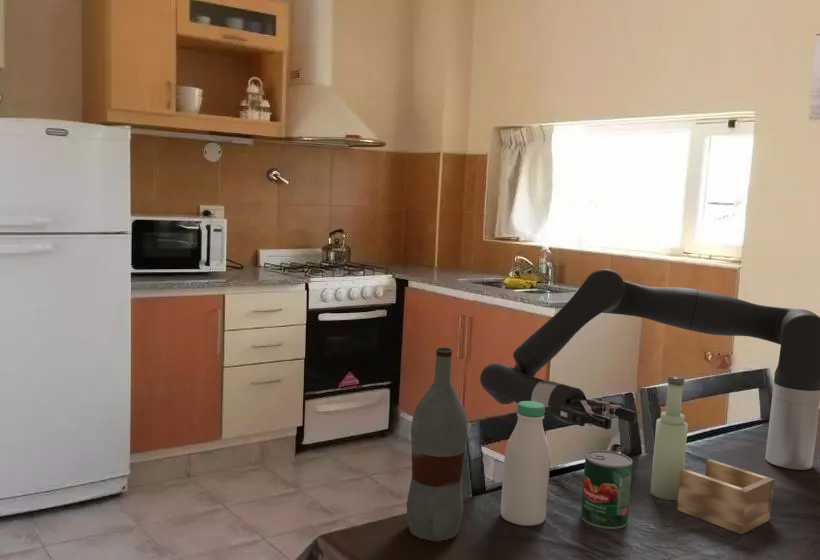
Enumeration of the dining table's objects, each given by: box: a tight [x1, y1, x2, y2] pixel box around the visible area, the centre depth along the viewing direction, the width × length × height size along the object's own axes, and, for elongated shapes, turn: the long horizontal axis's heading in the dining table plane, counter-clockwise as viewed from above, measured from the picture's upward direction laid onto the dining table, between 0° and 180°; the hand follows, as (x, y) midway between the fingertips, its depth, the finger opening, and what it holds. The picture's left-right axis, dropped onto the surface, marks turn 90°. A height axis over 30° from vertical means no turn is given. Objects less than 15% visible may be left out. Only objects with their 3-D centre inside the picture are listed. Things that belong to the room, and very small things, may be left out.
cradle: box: [677, 458, 775, 535], centre depth 139 cm, size 12×10×8 cm
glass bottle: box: [650, 375, 689, 501], centre depth 147 cm, size 6×6×22 cm
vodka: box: [406, 347, 469, 540], centre depth 125 cm, size 9×9×30 cm
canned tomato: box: [580, 449, 633, 530], centre depth 135 cm, size 8×8×11 cm
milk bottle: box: [500, 401, 551, 527], centre depth 133 cm, size 8×8×20 cm
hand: (623, 420), depth 155 cm, fingers open, 8 cm apart
